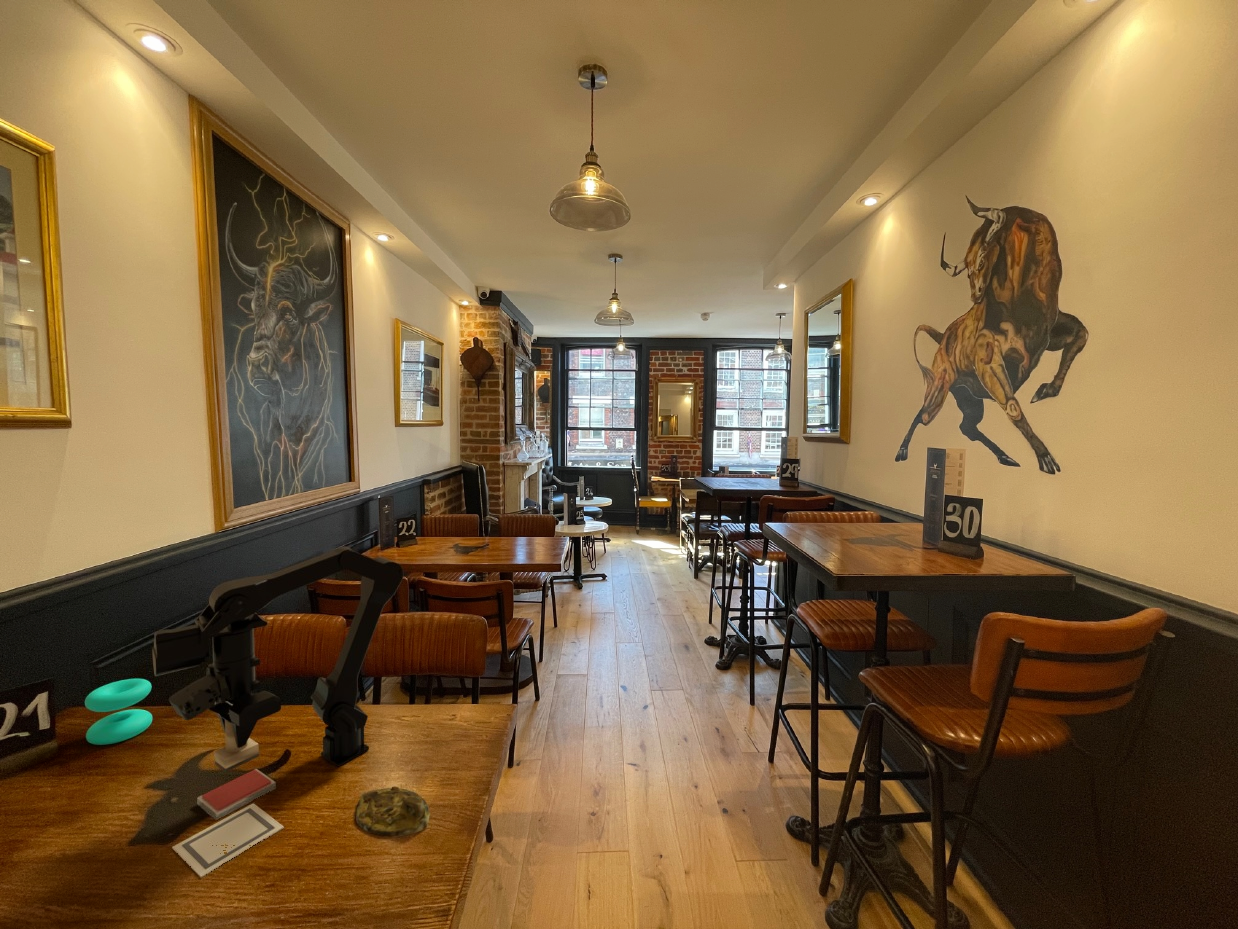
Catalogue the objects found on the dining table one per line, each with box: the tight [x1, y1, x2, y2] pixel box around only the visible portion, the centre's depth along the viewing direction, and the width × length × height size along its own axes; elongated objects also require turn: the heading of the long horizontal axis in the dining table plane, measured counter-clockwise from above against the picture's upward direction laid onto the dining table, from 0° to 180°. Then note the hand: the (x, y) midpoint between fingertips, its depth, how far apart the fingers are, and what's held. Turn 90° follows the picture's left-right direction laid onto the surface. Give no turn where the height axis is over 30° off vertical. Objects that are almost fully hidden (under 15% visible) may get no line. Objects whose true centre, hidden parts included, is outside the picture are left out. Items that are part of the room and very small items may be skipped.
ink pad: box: [196, 768, 277, 821], centre depth 89 cm, size 9×7×2 cm
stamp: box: [214, 713, 260, 773], centre depth 88 cm, size 5×4×8 cm
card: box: [171, 803, 285, 879], centre depth 80 cm, size 11×10×1 cm
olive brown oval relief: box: [355, 785, 430, 838], centre depth 86 cm, size 9×5×15 cm
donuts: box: [84, 678, 153, 746], centre depth 107 cm, size 10×10×10 cm
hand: (236, 743), depth 89 cm, fingers closed on stamp, 3 cm apart
